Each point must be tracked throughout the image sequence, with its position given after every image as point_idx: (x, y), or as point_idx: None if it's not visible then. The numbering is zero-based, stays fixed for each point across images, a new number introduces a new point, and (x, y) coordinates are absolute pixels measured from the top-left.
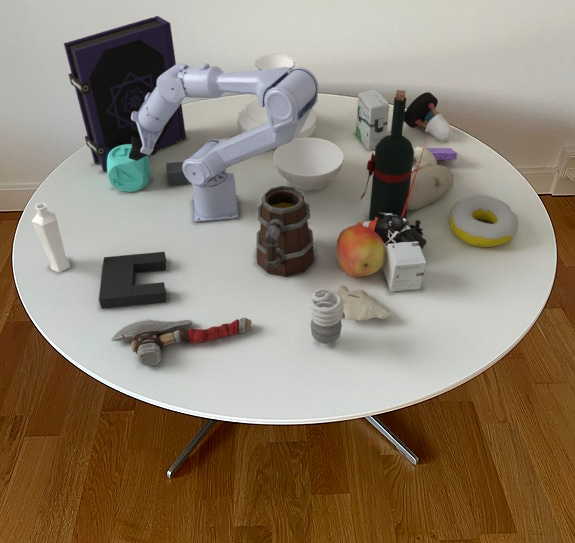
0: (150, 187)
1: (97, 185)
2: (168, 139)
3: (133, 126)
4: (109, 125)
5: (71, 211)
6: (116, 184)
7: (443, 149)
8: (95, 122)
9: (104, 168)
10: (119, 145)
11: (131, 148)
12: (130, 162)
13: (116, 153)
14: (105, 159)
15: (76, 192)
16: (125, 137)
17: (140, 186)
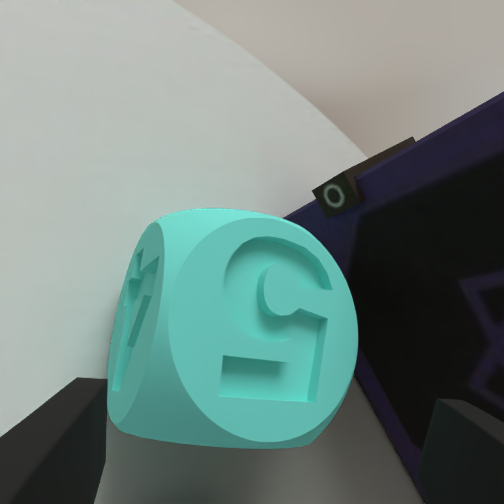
0: None
1: (194, 194)
2: None
3: (472, 440)
4: (474, 225)
5: (16, 68)
6: (133, 265)
7: None
8: (485, 129)
9: None
10: (375, 282)
11: (2, 489)
12: (167, 361)
13: (277, 263)
14: (310, 223)
15: (160, 114)
16: (417, 311)
17: (107, 393)
